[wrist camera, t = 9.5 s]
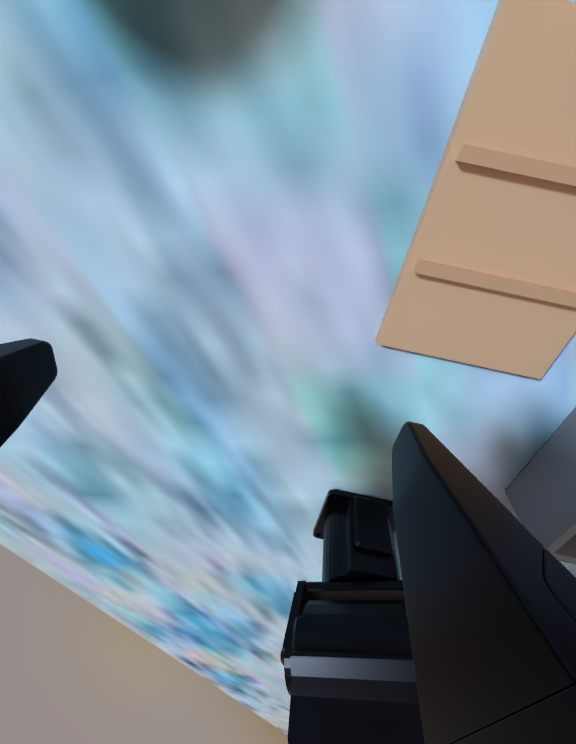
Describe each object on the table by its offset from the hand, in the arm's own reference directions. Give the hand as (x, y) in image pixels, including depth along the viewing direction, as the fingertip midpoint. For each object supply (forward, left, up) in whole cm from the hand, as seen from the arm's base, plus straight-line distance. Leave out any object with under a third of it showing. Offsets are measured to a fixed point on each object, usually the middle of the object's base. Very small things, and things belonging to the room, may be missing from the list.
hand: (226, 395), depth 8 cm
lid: (+6, -11, -12) cm, 17 cm away
